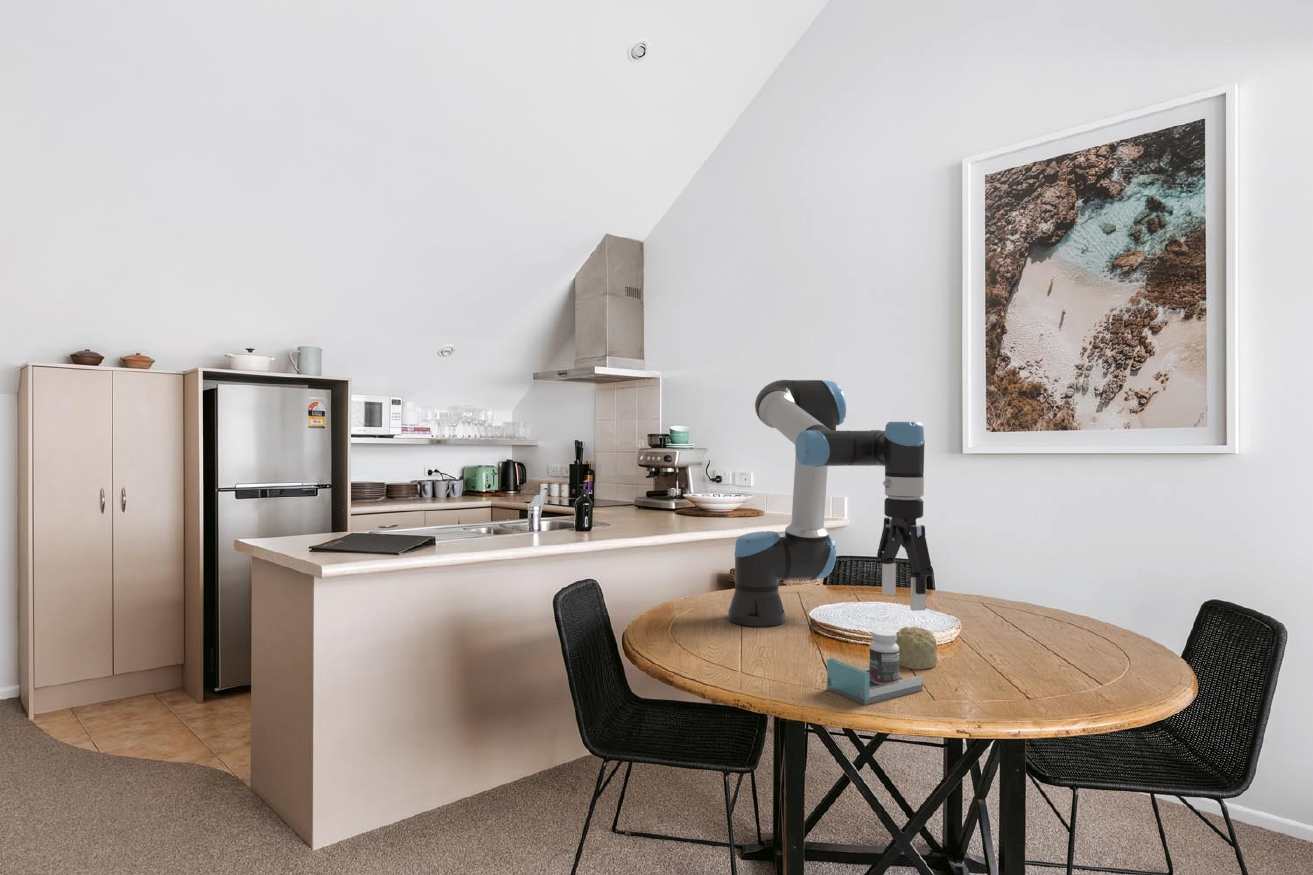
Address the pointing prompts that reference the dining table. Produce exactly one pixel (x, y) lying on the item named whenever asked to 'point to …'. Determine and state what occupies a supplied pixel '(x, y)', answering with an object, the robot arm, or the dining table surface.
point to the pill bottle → (884, 657)
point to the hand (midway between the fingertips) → (902, 602)
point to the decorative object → (916, 648)
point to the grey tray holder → (866, 684)
